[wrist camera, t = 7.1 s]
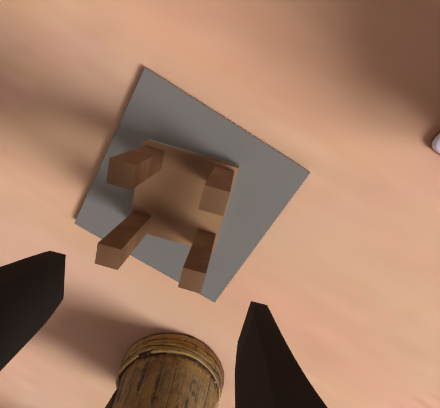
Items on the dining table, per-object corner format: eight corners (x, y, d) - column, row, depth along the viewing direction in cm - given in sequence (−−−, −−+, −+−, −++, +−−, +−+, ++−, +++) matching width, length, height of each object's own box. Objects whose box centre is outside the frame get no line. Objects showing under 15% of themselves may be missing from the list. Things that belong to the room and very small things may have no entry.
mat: (308, 170, 18) (310, 172, 18) (215, 298, 22) (214, 302, 22) (147, 68, 17) (145, 67, 17) (78, 220, 21) (74, 223, 21)
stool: (239, 164, 18) (236, 189, 12) (215, 244, 20) (203, 297, 14) (149, 139, 18) (105, 152, 12) (134, 221, 20) (90, 265, 14)
